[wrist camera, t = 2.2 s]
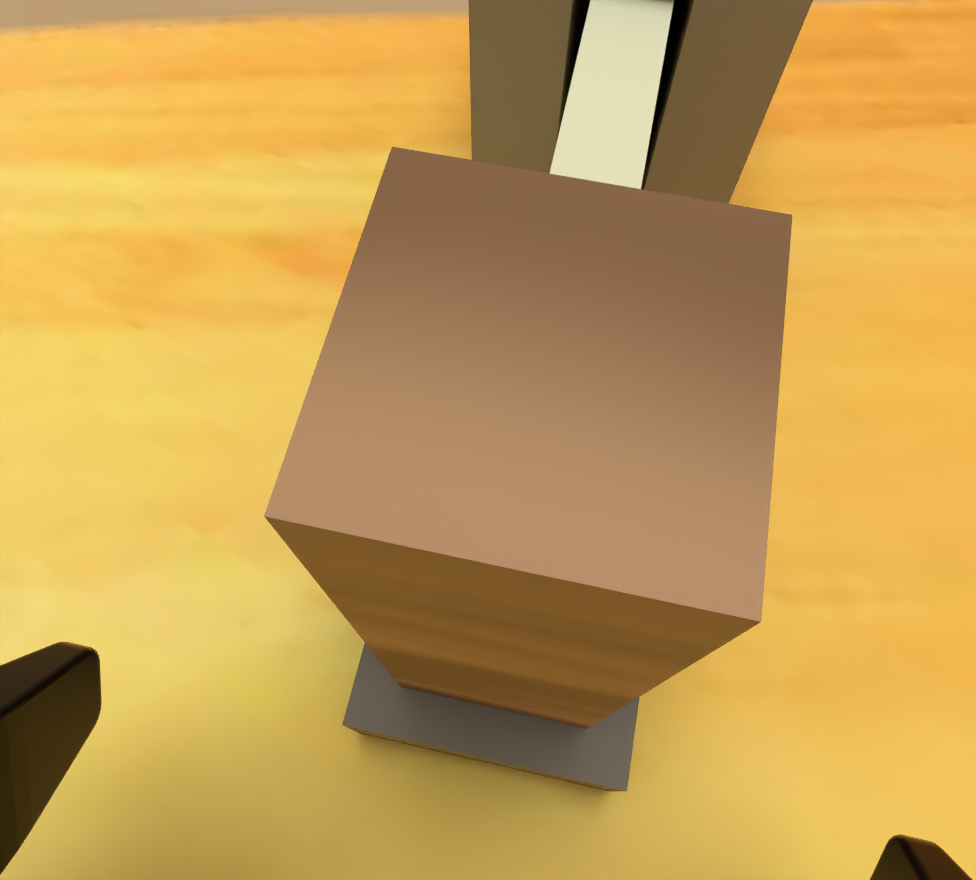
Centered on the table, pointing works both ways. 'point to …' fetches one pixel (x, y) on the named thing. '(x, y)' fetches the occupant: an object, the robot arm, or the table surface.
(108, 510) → the table surface
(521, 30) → the pocket wall
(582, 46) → the pocket door
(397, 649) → the wooden post on base
